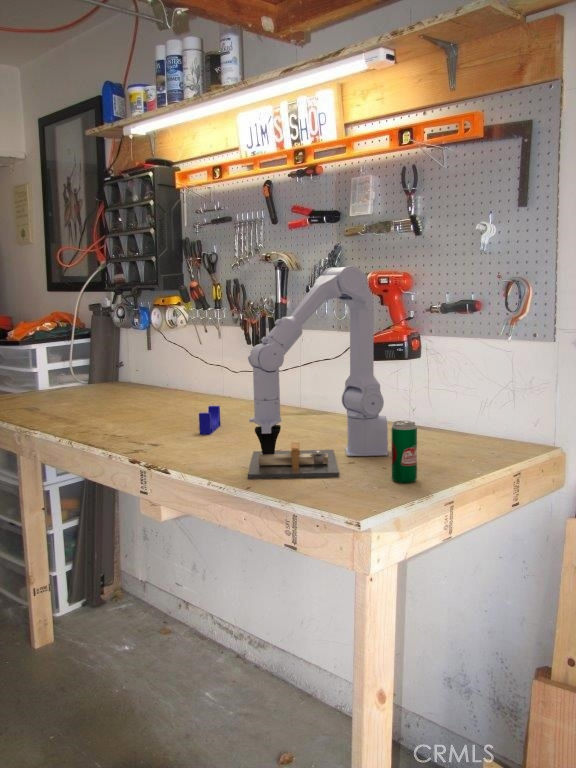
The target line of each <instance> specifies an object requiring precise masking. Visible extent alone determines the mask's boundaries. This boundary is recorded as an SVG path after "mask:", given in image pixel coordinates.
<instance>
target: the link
mask: <svg viewBox="0 0 576 768" xmlns="http://www.w3.org/2000/svg"><path fill="white" fill-rule="evenodd" d="M321 454H322V455H315V453H314V454H300V455H299V464H328V455H327V453H321ZM259 465H292V455H291V454H264V455H259Z"/></svg>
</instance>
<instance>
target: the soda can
mask: <svg viewBox="0 0 576 768" xmlns="http://www.w3.org/2000/svg"><path fill="white" fill-rule="evenodd" d="M391 479H392V481H394V483H398V484H413V483H415V482H416V481H417V479H418V427H417V426H416V422H415V421H411V420H395V421H393V425H392V427H391Z"/></svg>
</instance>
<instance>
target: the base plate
mask: <svg viewBox="0 0 576 768" xmlns="http://www.w3.org/2000/svg"><path fill="white" fill-rule="evenodd" d="M300 446H301V444H300V442H290V450H275V453H274V454H291V455H292V465H259V455H263V454H262V450H259V451H256V450H255V451H253V452H252V457H251V458H250V459H251V461H250V464H249V468H248V472H247V479H248V480H265V479H268V480H269V479H270V480H271V479H311V478H312V479H315V478H318V479H319V478H340V472H339V467H338V463H337V459H336V455H335V454H336V453H335V450H334V449H308V450H307V449H305V450H303V449H301V447H300ZM314 453H315V455H322V454H321V453H327V455H328V464H299V455H300V454H314Z"/></svg>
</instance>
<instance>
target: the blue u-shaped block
mask: <svg viewBox="0 0 576 768" xmlns="http://www.w3.org/2000/svg"><path fill="white" fill-rule="evenodd" d="M207 408H208V411H207V412H200V413H198V425H199V435H211V434H213V433H214V432H216V430H218V429H219V428H220V427H221V405H209V406H208V407H207Z"/></svg>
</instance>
